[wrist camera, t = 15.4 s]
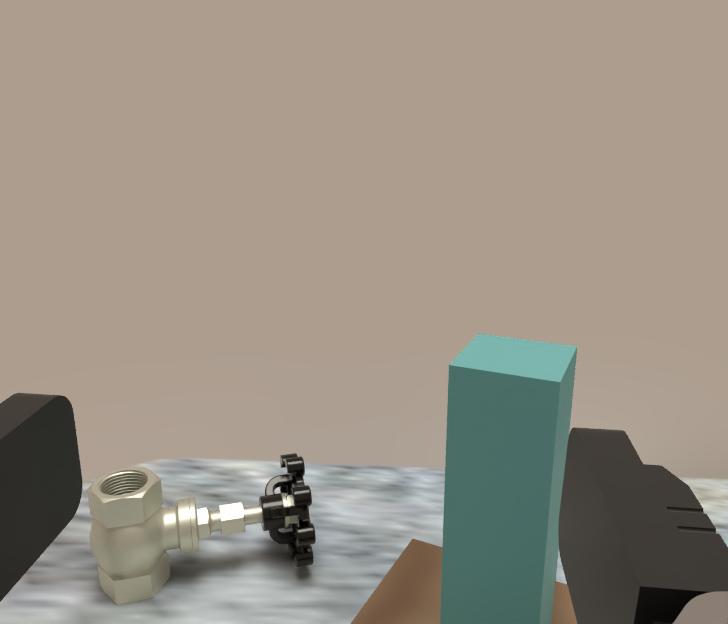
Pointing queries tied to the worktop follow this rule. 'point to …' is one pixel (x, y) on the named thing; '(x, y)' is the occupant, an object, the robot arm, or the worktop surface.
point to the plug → (504, 479)
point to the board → (429, 591)
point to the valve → (183, 526)
